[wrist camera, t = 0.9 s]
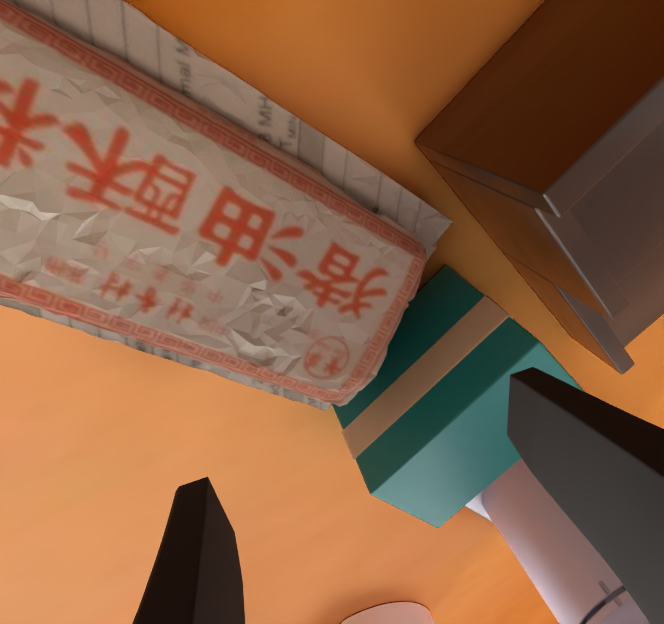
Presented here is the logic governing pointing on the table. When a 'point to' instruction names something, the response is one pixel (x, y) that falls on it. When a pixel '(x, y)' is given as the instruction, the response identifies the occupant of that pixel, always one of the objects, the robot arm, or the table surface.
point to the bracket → (393, 614)
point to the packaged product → (193, 209)
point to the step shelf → (570, 163)
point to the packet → (442, 401)
